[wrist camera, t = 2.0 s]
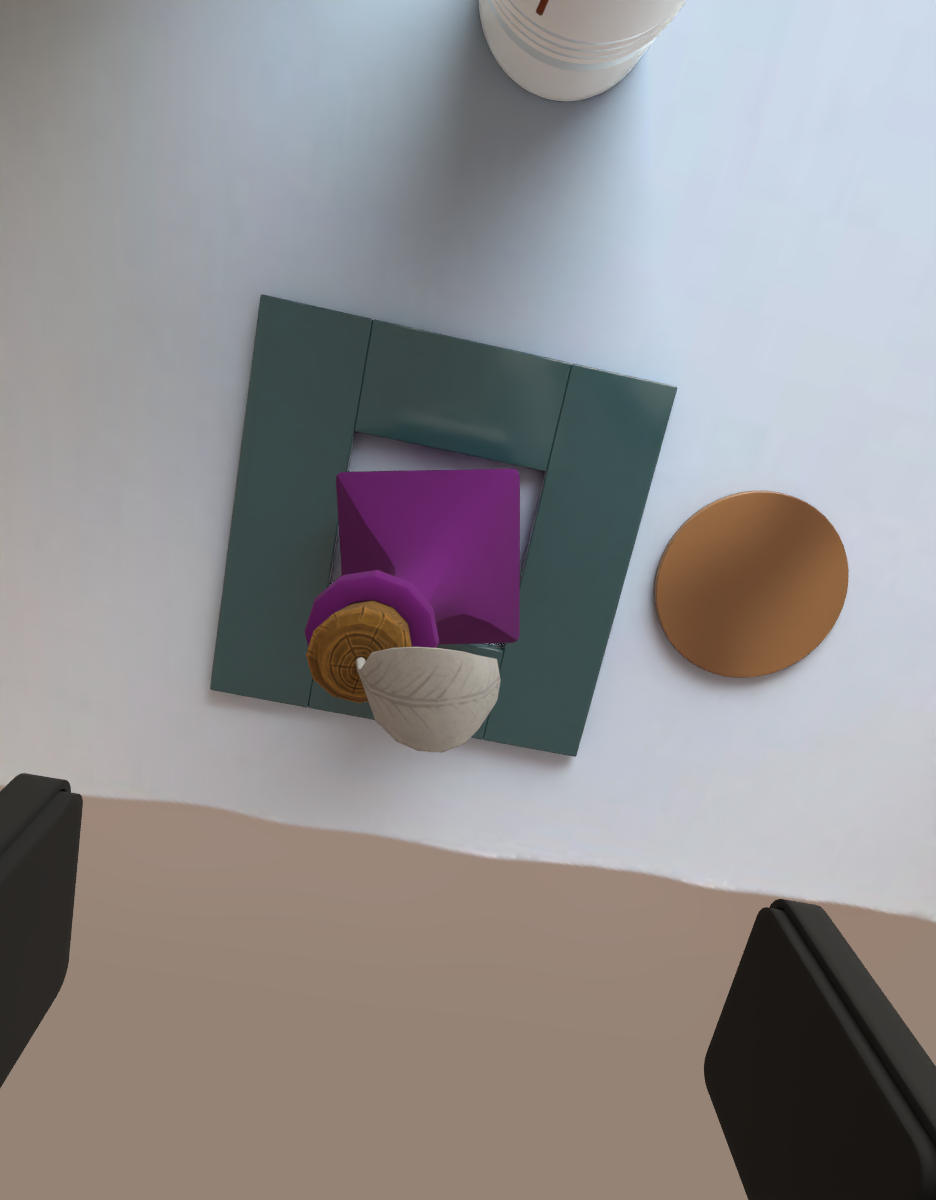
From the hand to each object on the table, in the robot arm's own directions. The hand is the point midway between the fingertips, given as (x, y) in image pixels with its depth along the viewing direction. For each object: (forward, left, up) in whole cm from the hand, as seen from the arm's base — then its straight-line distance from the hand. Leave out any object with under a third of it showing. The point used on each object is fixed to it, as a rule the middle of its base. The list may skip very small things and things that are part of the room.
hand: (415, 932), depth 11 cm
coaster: (-15, -1, -27) cm, 30 cm away
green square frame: (0, 0, -27) cm, 27 cm away
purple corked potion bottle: (0, 0, -27) cm, 27 cm away
